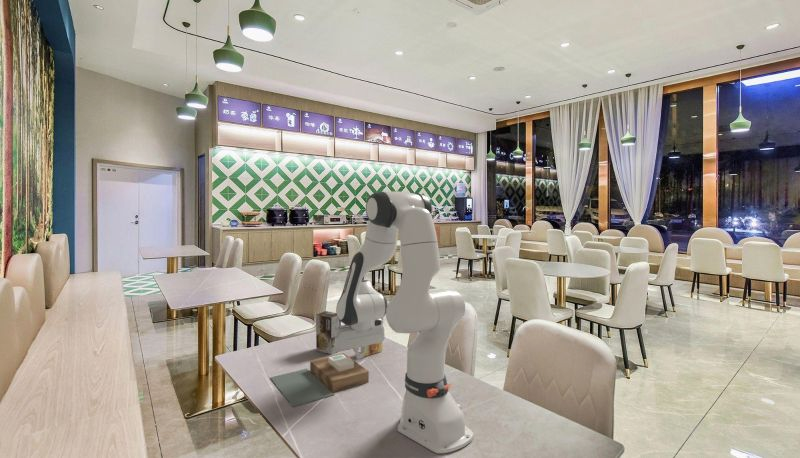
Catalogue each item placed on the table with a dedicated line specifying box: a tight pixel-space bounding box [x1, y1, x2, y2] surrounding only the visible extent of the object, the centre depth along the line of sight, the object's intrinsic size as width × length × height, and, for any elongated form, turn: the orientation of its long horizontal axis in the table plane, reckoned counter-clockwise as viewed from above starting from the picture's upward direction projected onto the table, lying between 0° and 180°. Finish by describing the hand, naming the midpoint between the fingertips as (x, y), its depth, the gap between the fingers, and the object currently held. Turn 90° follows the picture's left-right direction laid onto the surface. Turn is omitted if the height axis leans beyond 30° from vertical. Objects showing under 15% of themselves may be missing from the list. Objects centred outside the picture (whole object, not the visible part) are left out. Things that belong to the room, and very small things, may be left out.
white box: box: [328, 354, 354, 371], centre depth 145 cm, size 9×6×2 cm, turn 35°
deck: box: [309, 352, 370, 393], centre depth 145 cm, size 20×14×4 cm
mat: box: [269, 368, 335, 408], centre depth 137 cm, size 24×14×1 cm, turn 35°
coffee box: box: [315, 310, 342, 356], centre depth 169 cm, size 9×6×16 cm
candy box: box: [360, 317, 384, 357], centre depth 168 cm, size 9×4×15 cm, turn 129°
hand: (359, 357), depth 150 cm, fingers closed
